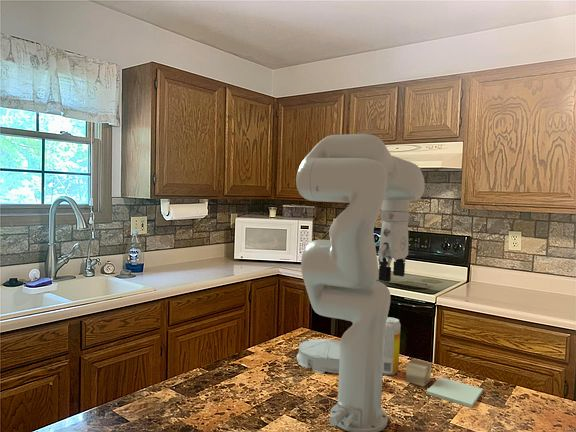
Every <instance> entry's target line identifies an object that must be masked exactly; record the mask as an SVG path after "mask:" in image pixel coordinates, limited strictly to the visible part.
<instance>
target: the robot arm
mask: <svg viewBox="0 0 576 432" xmlns="http://www.w3.org/2000/svg"><path fill="white" fill-rule="evenodd" d="M295 180H296V181H295V182H296V189H297V191H298V194H299V195H300V196H301V197H302V198H304V199H305V200H307V201H312V202H326V203H348V206H347V207H346V208H345V209H344V210H343V211H342V212H340V213H339V214H338V215H337V216H336V218H335V219H334V220H333V222H332V223H331V224H330V227H329V230H328V237H329V239H315V240H312V241H310V242H309V243H307V244H306V245H305V246H304V249H303V252H302V255H301V259H300V260H301V262H300V264H301V265H300V269H301V270H300V271H301V275H302V280H303V282H304V285H305V289H306V293H307V295H308V299H309V302H310V304H311V307H312V308H311V309H313V311H314V313H316V314H318V315H319V316H322V317H326V318H331V319H332V318H333V319H336V320H337V319H339V320H344V321H348V322H351V323H352V325H351V326H350V327H348V328H347V330H345V331H344V333H343V334H342V336H341V338H340V340H339V341H340V361H339V373H338V386H337V387H338V389H337V403H336V404H334V405H333V406H332V407H331V409H330V411H329V412H330V413H329V414H330V415H329V416H330V417H329V418H328V422H329V425H331V426H332V427H336V426H337V427H338V428H341V429H342V430H343V431H347V432H381V431H383V430H384V429H385V428H386V427H387V425H388V421H389V419H388V415H387V413H386V412H385V411H384V410H383V409H382V393H383V390H382V389H383V375H384V374H383V354H384V336H385V328H386V321H387V317H389V316H388V315H389V311H390V306H391V292H390V289H389V287H388V286H387V285H386V284H385V283H383V282H388V283H389V282H391V278H392V277H391V275H392V273H393V276H395V277H396V276H397V277H405V271H406V270H405V269H406V260H407V259H406V257H407V256H409V227H408V226H409V225H408V224H409V220H410V219H409V218H410V201H411V202H412V201H413V202H414V201H419V200H420V199H421V198H422V196H423V195H424V192H425V189H426V188H425V185H426V183H425V178H424V175H423V172H422V169H421V168H420V167H419V165H417V164H416V163H414V162H411V161H409V160H407V159H404V158H399V157H397V156H396V155H395V156H394V155H392V154H391V152H390V151H389V149H388V148H387V145H386V144H385V142H384V141H383V140H382V139H381V138H380V137H378V136H376V135H373V134H369V133H352V134H351V133H349V134H348V133H347V134H331V135H327V136H325V137H324V138H322V139H321V140H320V141H319V142H318V143H317V144H316V145H315V146H314V147H313V148H312V149H311V150H310V151H309V153H308V154H307V155H306V156H305V157H304V159H303V160H302V161H301V163H300V165H299V167H298V169H297V173H296V177H295ZM379 215H380V223H381V228H380V236H379V250H378V251H377V249H376V242H375V233H374V230H375V226H376V223H377V220H378V218H379ZM393 260H394V261H393ZM392 261H393V268H392V267H391V263H392ZM392 269H393V270H392ZM381 281H382V282H381Z"/></svg>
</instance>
